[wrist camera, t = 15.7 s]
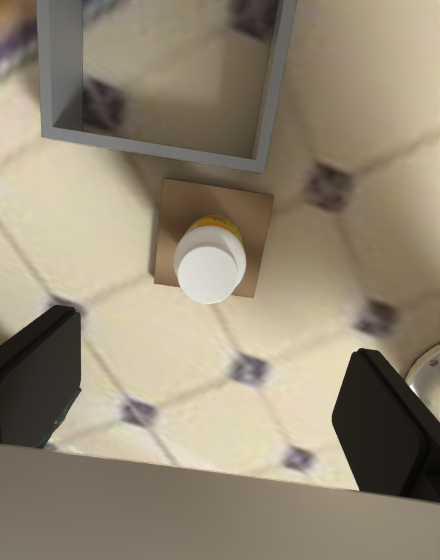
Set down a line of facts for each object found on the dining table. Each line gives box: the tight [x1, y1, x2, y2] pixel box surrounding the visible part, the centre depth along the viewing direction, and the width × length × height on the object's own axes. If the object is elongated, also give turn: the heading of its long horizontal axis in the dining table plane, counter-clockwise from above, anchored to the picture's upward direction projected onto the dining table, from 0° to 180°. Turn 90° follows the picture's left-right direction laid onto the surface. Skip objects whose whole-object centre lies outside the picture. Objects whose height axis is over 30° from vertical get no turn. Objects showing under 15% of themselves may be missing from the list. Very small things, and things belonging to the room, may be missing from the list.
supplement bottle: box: [174, 215, 246, 304], centre depth 24 cm, size 5×5×10 cm
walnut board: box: [154, 178, 274, 298], centre depth 29 cm, size 10×10×1 cm
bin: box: [36, 0, 297, 173], centre depth 22 cm, size 17×17×5 cm
